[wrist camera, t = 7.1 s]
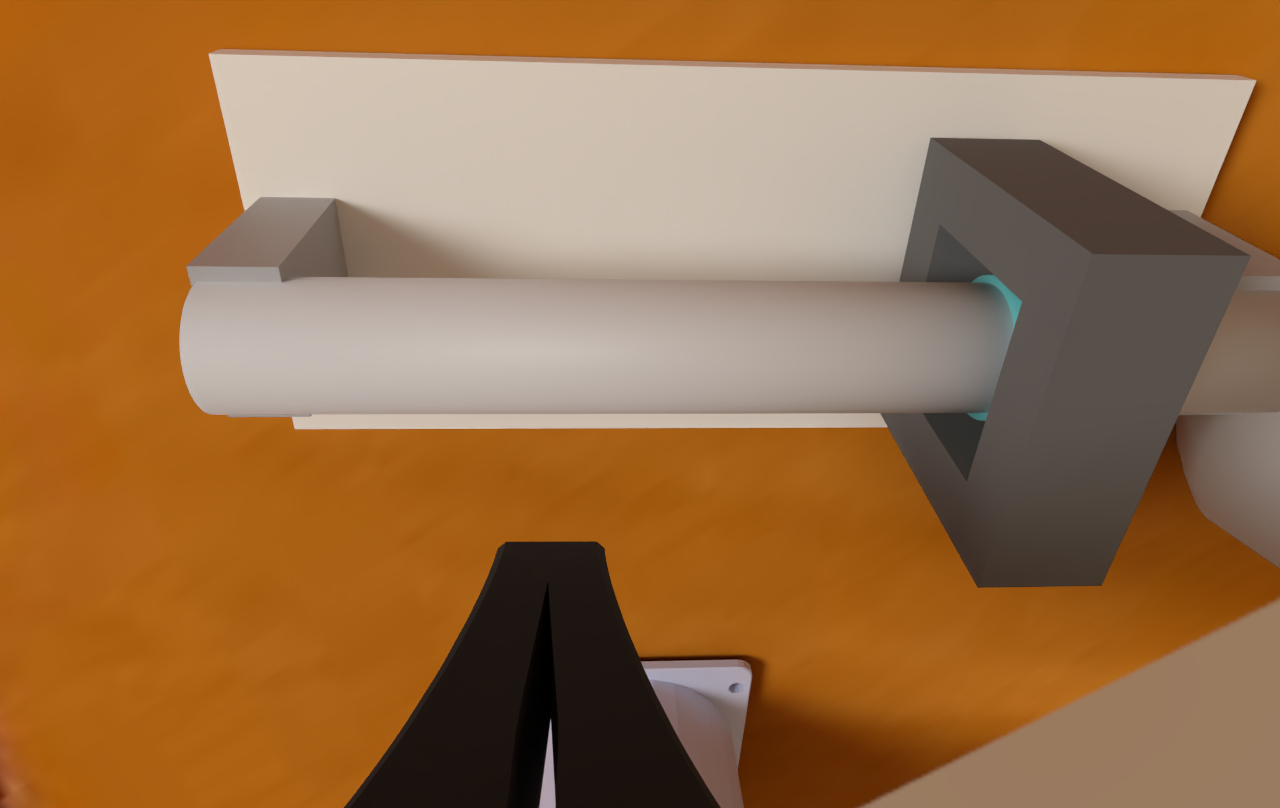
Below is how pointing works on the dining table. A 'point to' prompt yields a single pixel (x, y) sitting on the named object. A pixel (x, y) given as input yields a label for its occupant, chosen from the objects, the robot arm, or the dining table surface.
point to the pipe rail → (651, 239)
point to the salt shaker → (1236, 474)
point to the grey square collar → (1059, 354)
